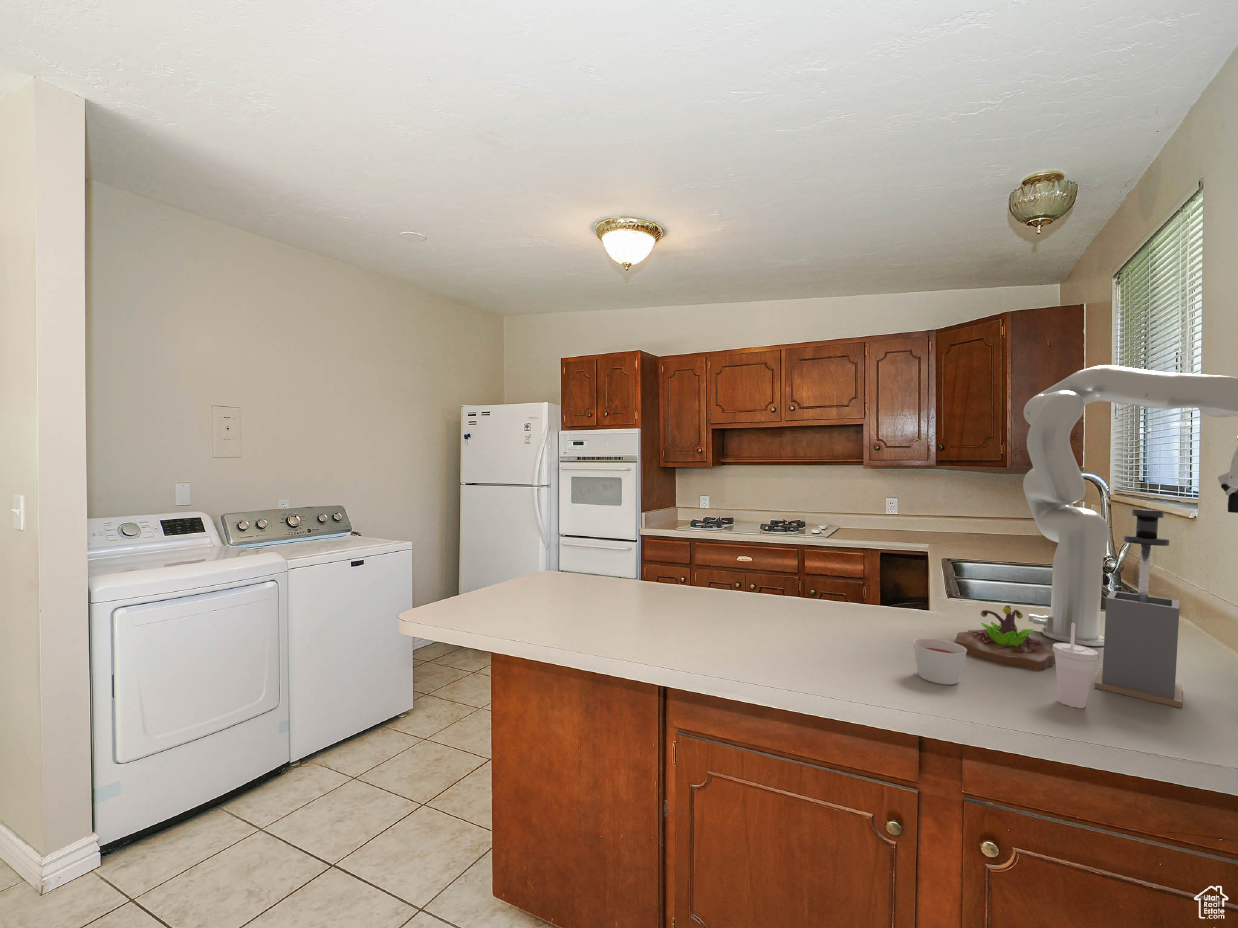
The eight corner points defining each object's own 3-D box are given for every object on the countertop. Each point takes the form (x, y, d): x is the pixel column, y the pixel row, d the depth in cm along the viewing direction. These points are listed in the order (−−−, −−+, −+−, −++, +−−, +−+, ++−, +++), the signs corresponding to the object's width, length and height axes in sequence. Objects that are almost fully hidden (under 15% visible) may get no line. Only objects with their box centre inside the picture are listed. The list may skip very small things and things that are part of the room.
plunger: (1115, 638, 113) (1122, 509, 112) (1117, 631, 118) (1124, 507, 118) (1165, 648, 108) (1173, 512, 108) (1166, 640, 113) (1173, 511, 113)
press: (1094, 687, 113) (1099, 597, 113) (1100, 672, 122) (1104, 588, 121) (1181, 707, 105) (1187, 610, 104) (1181, 689, 114) (1186, 600, 113)
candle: (903, 668, 119) (905, 637, 119) (949, 671, 119) (951, 639, 119) (925, 686, 110) (927, 652, 110) (975, 688, 110) (977, 654, 110)
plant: (942, 652, 132) (945, 601, 132) (966, 635, 146) (968, 589, 146) (1054, 678, 118) (1057, 621, 118) (1068, 656, 133) (1070, 606, 132)
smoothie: (1040, 696, 108) (1044, 618, 107) (1073, 696, 108) (1078, 618, 108) (1070, 711, 101) (1074, 628, 101) (1105, 711, 102) (1110, 629, 102)
